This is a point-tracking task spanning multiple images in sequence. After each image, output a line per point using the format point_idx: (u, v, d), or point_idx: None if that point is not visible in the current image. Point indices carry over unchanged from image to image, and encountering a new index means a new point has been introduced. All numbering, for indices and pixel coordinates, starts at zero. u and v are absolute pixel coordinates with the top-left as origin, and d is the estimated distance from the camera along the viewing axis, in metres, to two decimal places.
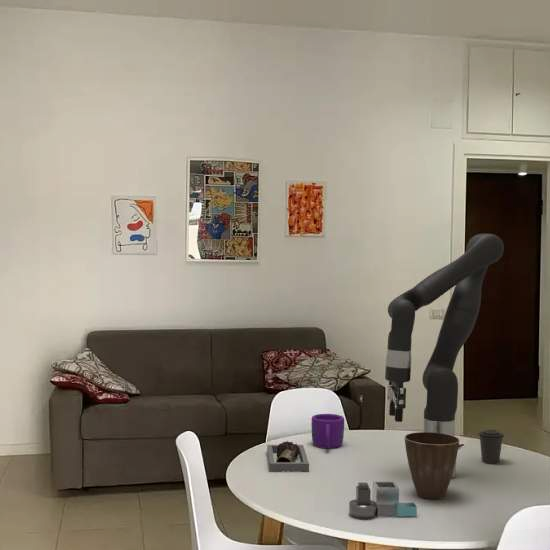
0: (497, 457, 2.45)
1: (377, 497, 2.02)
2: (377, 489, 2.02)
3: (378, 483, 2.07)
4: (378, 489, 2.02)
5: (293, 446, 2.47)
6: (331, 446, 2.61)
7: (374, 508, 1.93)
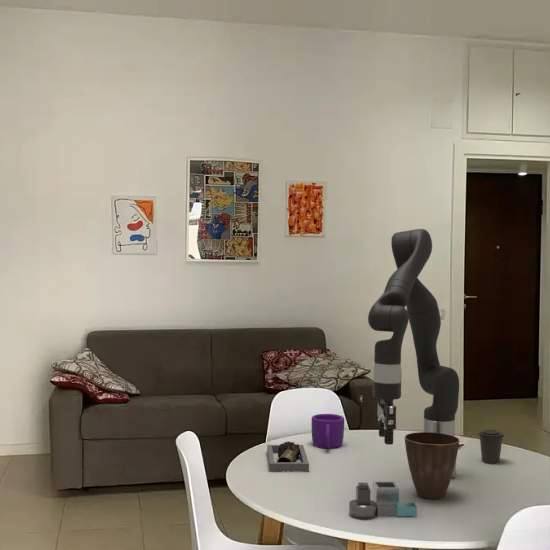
0: (497, 457, 2.45)
1: (377, 497, 2.02)
2: (377, 489, 2.02)
3: (378, 483, 2.07)
4: (378, 489, 2.02)
5: (294, 446, 2.47)
6: (331, 446, 2.61)
7: (374, 508, 1.93)
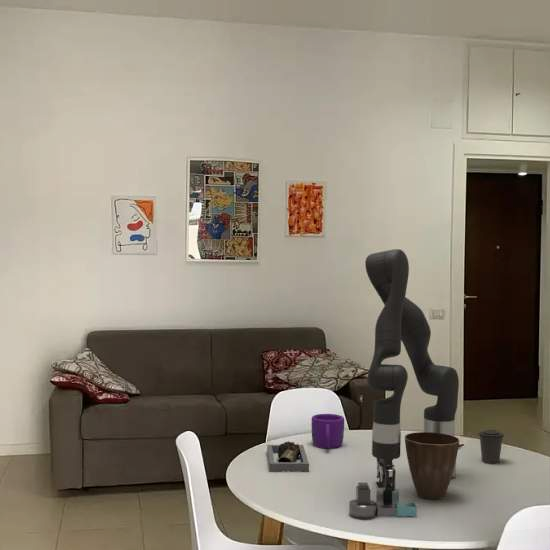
0: (497, 457, 2.45)
1: (377, 497, 2.02)
2: (377, 489, 2.02)
3: (378, 483, 2.07)
4: (378, 489, 2.02)
5: (294, 446, 2.47)
6: (331, 446, 2.61)
7: (374, 508, 1.93)
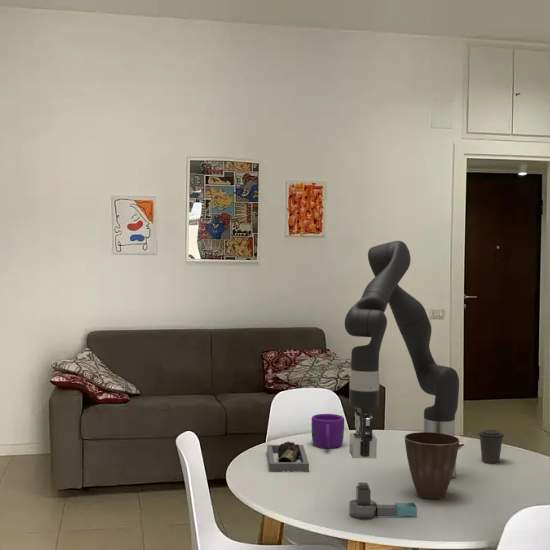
0: (497, 457, 2.45)
1: (354, 448, 1.92)
2: (354, 439, 1.92)
3: (355, 434, 1.97)
4: (355, 439, 1.92)
5: (294, 446, 2.47)
6: (331, 446, 2.61)
7: (374, 508, 1.93)
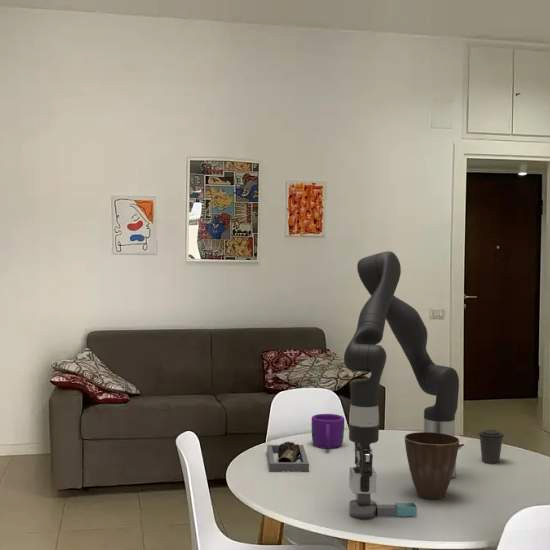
0: (497, 457, 2.45)
1: (353, 483, 1.92)
2: (353, 475, 1.92)
3: (355, 469, 1.98)
4: (355, 475, 1.92)
5: (294, 446, 2.47)
6: (331, 446, 2.61)
7: (374, 508, 1.93)
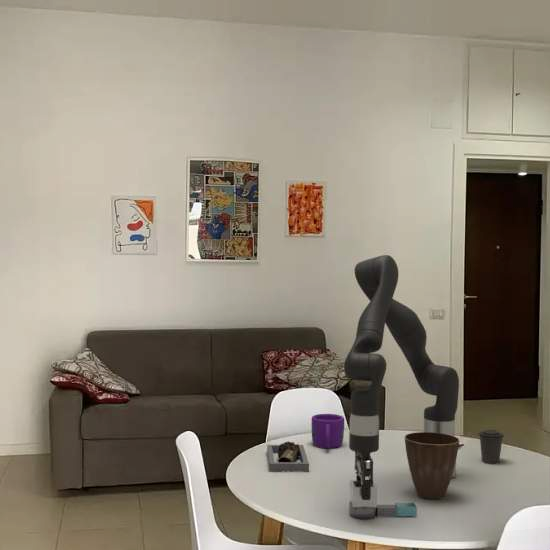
0: (497, 457, 2.45)
1: (354, 497, 1.92)
2: (354, 488, 1.92)
3: (356, 482, 1.98)
4: (355, 488, 1.92)
5: (294, 446, 2.47)
6: (331, 446, 2.61)
7: (374, 508, 1.93)
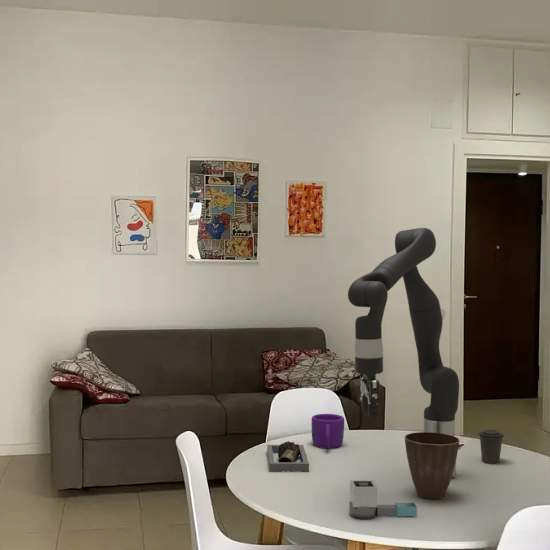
0: (497, 457, 2.45)
1: (354, 497, 1.92)
2: (354, 488, 1.92)
3: (356, 482, 1.98)
4: (355, 488, 1.92)
5: (294, 446, 2.47)
6: (331, 446, 2.61)
7: (374, 508, 1.93)
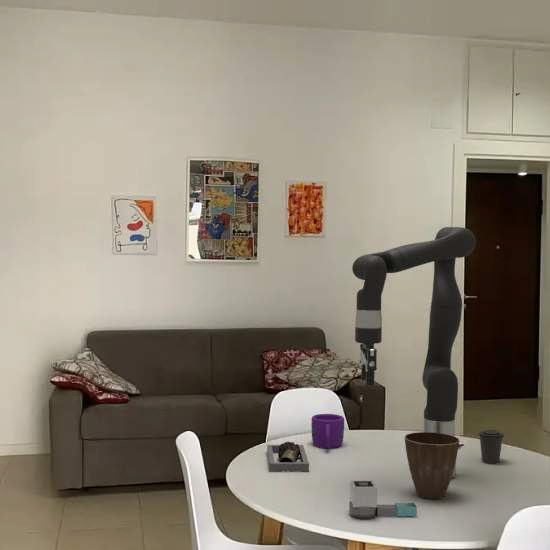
0: (497, 457, 2.45)
1: (354, 497, 1.92)
2: (354, 488, 1.92)
3: (356, 482, 1.98)
4: (355, 488, 1.92)
5: (295, 446, 2.47)
6: (331, 446, 2.61)
7: (374, 508, 1.93)
